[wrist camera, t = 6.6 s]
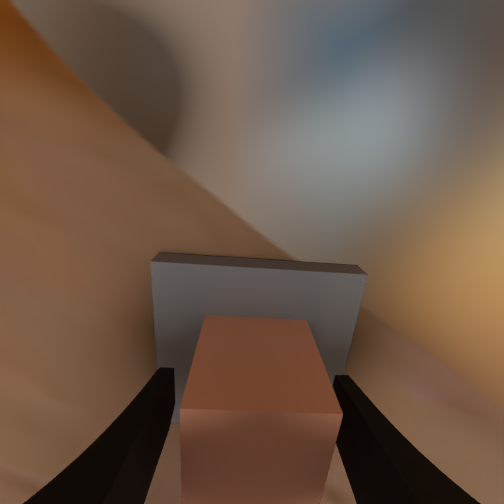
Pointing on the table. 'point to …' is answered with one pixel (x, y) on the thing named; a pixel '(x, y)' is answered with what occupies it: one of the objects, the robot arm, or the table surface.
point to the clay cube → (257, 414)
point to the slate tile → (251, 303)
